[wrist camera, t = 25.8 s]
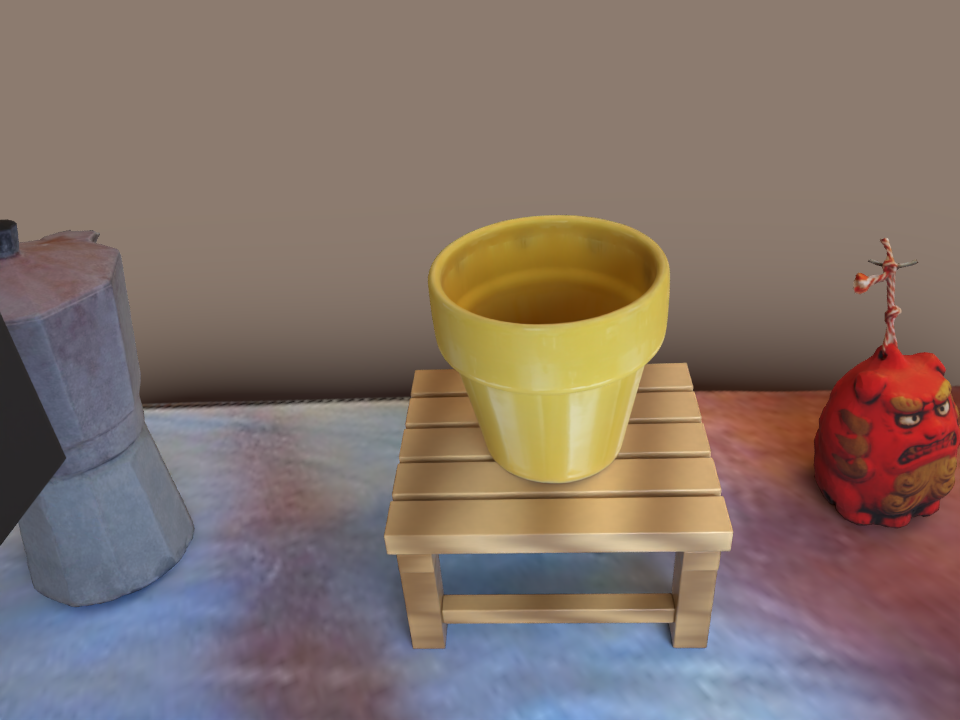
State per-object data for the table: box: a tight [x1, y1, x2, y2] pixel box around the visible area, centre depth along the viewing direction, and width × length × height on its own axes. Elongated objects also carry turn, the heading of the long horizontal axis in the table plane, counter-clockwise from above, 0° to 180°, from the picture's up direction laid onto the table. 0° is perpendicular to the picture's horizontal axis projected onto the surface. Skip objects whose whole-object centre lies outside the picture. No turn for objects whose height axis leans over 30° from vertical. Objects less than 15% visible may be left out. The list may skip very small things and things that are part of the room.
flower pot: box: [428, 215, 670, 483], centre depth 38 cm, size 10×10×10 cm
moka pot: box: [0, 220, 194, 607], centre depth 42 cm, size 10×15×20 cm, turn 176°
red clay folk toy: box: [814, 238, 960, 528], centre depth 44 cm, size 8×7×15 cm
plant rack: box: [384, 363, 733, 649], centre depth 43 cm, size 15×13×8 cm
